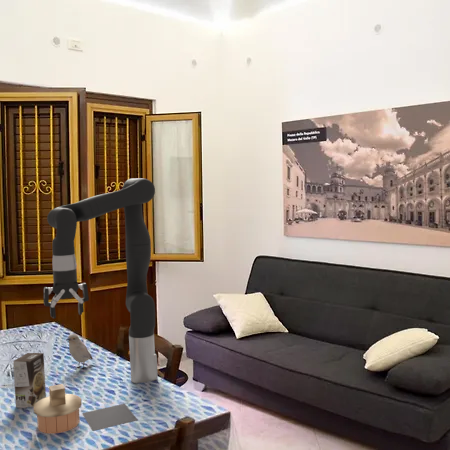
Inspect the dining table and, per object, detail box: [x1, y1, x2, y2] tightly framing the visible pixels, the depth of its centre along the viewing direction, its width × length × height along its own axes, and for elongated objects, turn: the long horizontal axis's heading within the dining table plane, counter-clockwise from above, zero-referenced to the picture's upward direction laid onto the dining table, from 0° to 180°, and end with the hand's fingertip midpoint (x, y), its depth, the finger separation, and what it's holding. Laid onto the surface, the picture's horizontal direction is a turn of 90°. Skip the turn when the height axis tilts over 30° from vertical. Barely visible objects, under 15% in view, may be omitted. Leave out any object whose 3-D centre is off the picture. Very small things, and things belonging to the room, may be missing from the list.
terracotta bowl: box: [36, 408, 81, 434], centre depth 164 cm, size 12×12×6 cm
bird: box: [65, 333, 94, 370], centre depth 214 cm, size 5×14×15 cm, turn 148°
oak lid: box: [33, 383, 82, 417], centre depth 163 cm, size 14×14×6 cm
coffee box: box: [12, 352, 47, 409], centre depth 181 cm, size 9×6×16 cm
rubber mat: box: [81, 403, 138, 432], centre depth 168 cm, size 14×14×1 cm
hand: (67, 316), depth 178 cm, fingers open, 8 cm apart
